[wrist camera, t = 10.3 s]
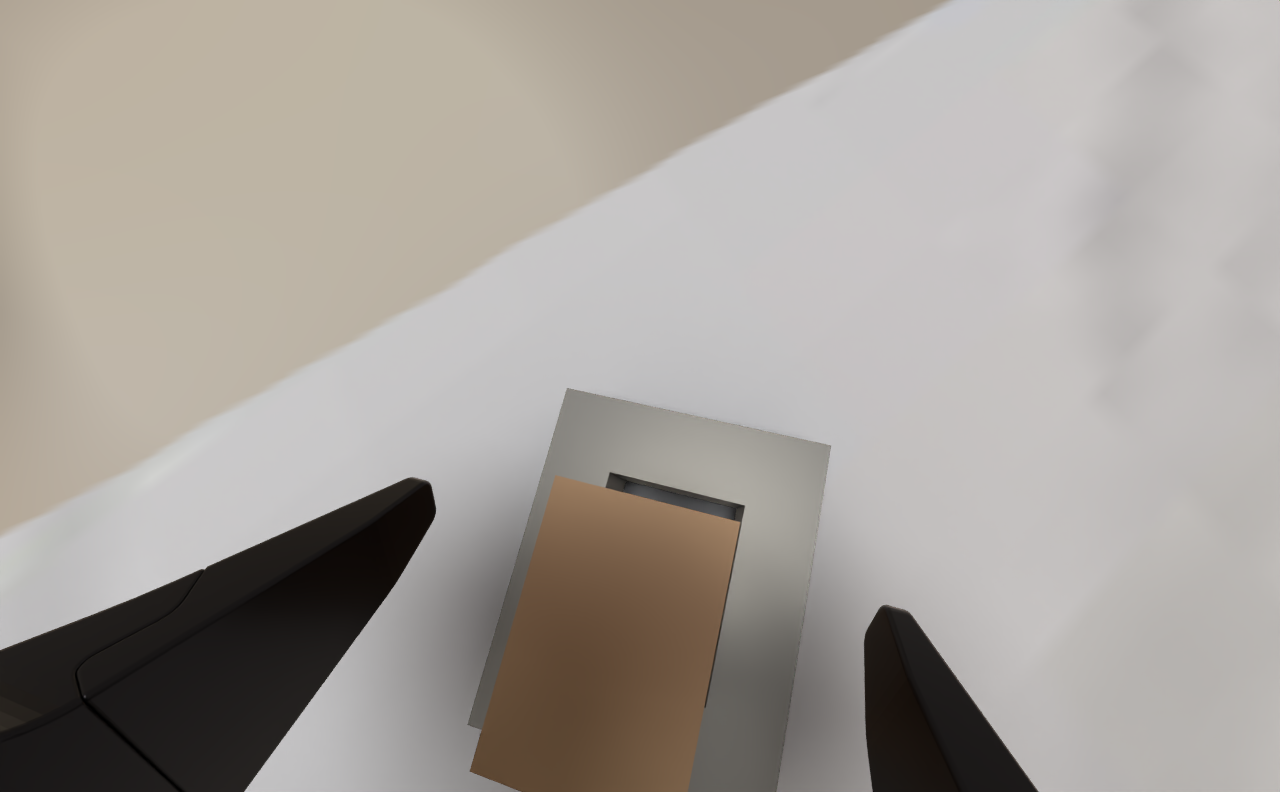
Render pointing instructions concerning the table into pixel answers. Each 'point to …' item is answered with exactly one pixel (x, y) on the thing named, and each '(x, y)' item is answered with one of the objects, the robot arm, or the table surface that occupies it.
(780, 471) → the grey block with slot
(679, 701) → the brown wooden block
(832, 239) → the table surface
